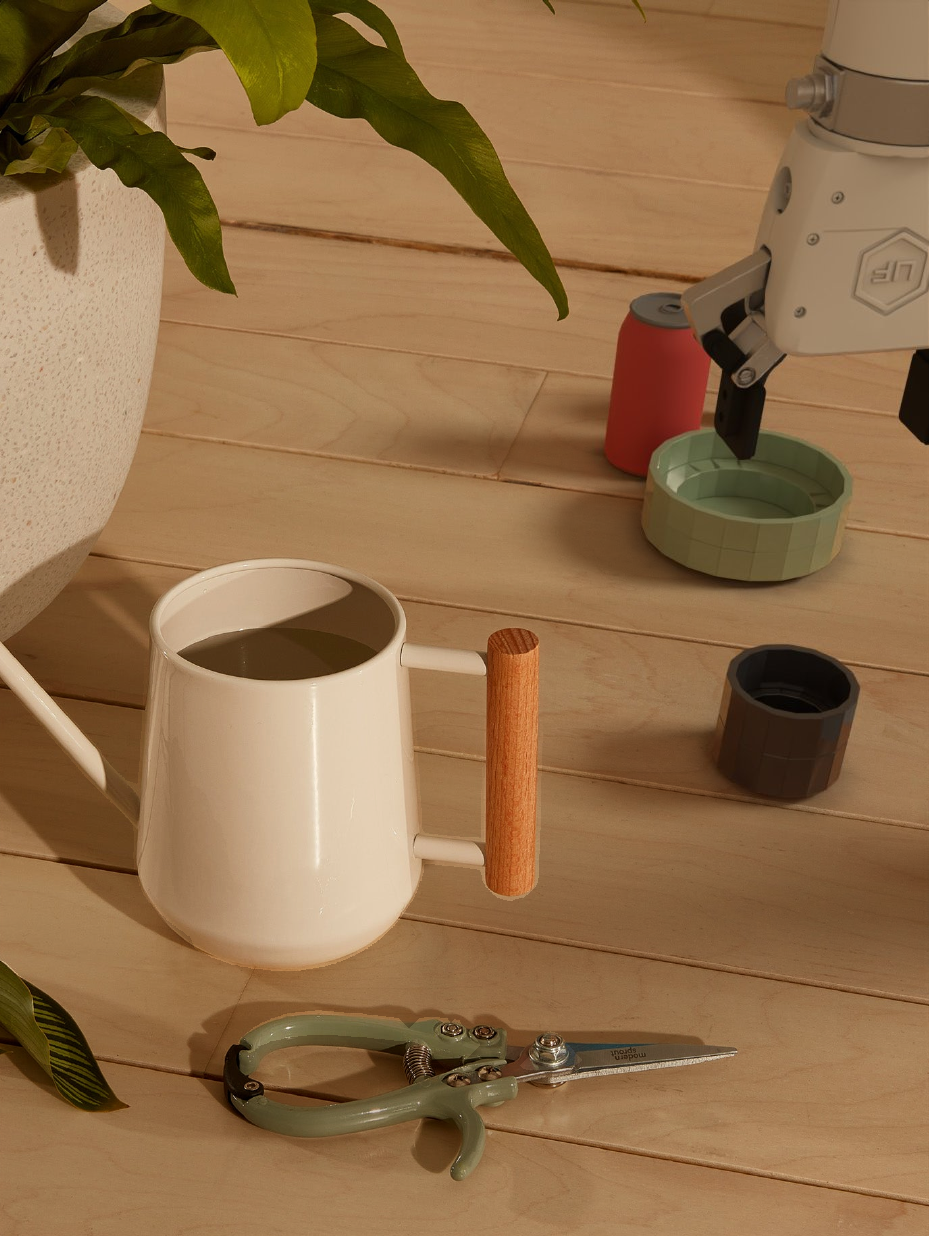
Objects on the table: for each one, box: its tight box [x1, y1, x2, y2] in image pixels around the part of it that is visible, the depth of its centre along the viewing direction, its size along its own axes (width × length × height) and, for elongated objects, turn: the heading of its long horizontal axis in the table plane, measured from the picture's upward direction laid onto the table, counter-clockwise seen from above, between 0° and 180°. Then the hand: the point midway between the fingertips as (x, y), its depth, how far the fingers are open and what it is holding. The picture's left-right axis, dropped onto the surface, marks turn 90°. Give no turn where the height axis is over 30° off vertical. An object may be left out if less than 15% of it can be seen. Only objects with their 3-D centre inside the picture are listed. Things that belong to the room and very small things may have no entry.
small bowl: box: [711, 643, 861, 799], centre depth 96 cm, size 7×7×6 cm
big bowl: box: [640, 426, 854, 582], centre depth 117 cm, size 13×13×5 cm
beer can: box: [603, 291, 712, 479], centre depth 124 cm, size 7×7×12 cm
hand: (826, 440), depth 87 cm, fingers open, 9 cm apart
